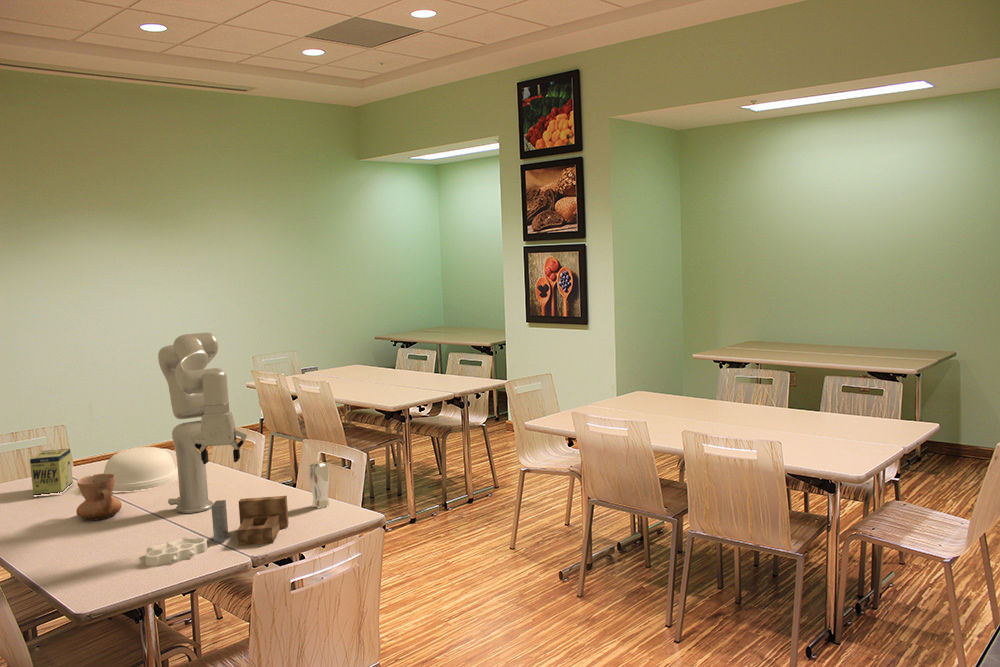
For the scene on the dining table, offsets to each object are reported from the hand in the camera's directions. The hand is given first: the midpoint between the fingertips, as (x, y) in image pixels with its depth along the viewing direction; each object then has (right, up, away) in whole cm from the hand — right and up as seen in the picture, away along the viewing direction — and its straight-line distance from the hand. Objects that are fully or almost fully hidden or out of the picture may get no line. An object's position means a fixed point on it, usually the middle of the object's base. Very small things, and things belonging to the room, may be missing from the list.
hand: (221, 462), depth 252 cm
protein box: (-90, -23, +64) cm, 113 cm away
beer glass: (+25, -21, +31) cm, 45 cm away
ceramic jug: (-53, -24, +28) cm, 65 cm away
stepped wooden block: (+12, -24, +2) cm, 27 cm away
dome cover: (-59, -21, +73) cm, 96 cm away
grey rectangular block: (0, -25, -1) cm, 25 cm away
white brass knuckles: (-9, -27, -13) cm, 31 cm away
